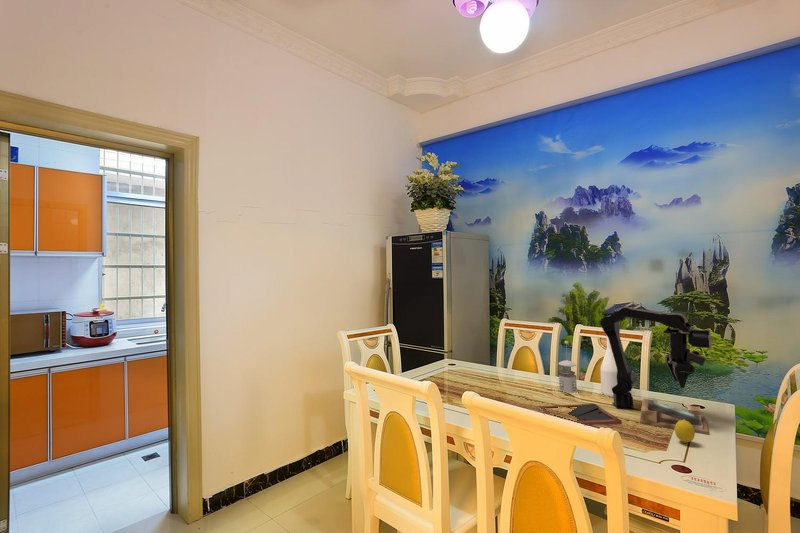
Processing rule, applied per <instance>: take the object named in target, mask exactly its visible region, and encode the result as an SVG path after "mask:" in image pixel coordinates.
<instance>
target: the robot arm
mask: <svg viewBox="0 0 800 533" xmlns="http://www.w3.org/2000/svg"><path fill="white" fill-rule="evenodd" d="M628 317H629V318H633V319H639V320H644V321H650V322H654V323H659V324H661V325H663V326H666V327H667V328H666V329H665V330H663V334H668V336H669V338H668V339H669V345H668V349H669V354H666V355H665V356H664V362H666V363H665V364H666V365H667V367H668V370H669V371H670V373H671V376H672V377H673V379H674V382H678V385H679V387H680V388H682V389H684V388H685V387H686V384H687V381H688V380H687V379H688V377H689V376H690V375H693V374H694V373H696V372H695V371H696V369H695V366H694V365H693V364H691V362H692V363H694V364H697V365H699V366H701V367H704V364H705V363H706V360H707V358H706V357H705V356H703V355H701V354H700V352H699V351H698V350H695V349H694V350H692V351H690V349H689V348H688V344H689V345H690V346H691V347H695V348H702V349H703V348H706V349H711V348H712V341H713V340H712V339H713V338H712V336H711V331H710V329H697V328H696V329H695V328H694V326H693V325H691V323H689V321H688V317H687V315H686V314H684V313H682V312H658V311H653V310H647V309H641V308H634V307H630V306H624V307H621V308H620V309H618V311H616V312H614V313H612V314H610V315H607V316H603V317H602V318H601V319H600V322H599V323H600V326H601V328H602V331H603V333H605V336H606V335H607V336H608V338H609V342H610V345H611V349H612V353H613V356H614V360H615V363H616V367H617V385H616V386H614V387H613V388H612V391H613V397H612V398H613V402H612V403H611V404H612V405H613V407H615V408H617V409H619V410H620V409H621V410H622V409H623V410H634V398H633V396H632V390H633V389H634V388H635V387H636V386H637V384H638V383H637V382H638V378H637V376H636V375H637V374H636V371H635V370H631V369H630V368H629V365H628V364H629V363H628V362H627V357H626V353H625V350H624V347H623V344H622V341H621V337H620V336H621V335H620V331H621V326H620V325H621V324H620V323H621V322H622V321H624V320H625V319H626V318H628ZM607 336H606V337H607Z"/></svg>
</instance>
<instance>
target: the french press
mask: <svg viewBox="0 0 800 533" xmlns="http://www.w3.org/2000/svg"><path fill="white" fill-rule="evenodd" d="M564 344H565V346H566V353H568V344H569V341H567V340H565V341H564ZM558 365H559V366H560V367H565V369H564V370H560V371H559V373H560V374H558V378H559V379H558V382H559V384H558V386H559V389H560V390H561V391H563V392H567V393H577V392H579V391H578V385H577V375H576V372H575V371H574V370H570V368H572V367H573V368H574V367H576V366H577V364H576V363H575V362H573V361H571V360H568V359H565V360H561V361H559V362H558ZM559 389H558V390H559Z"/></svg>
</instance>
